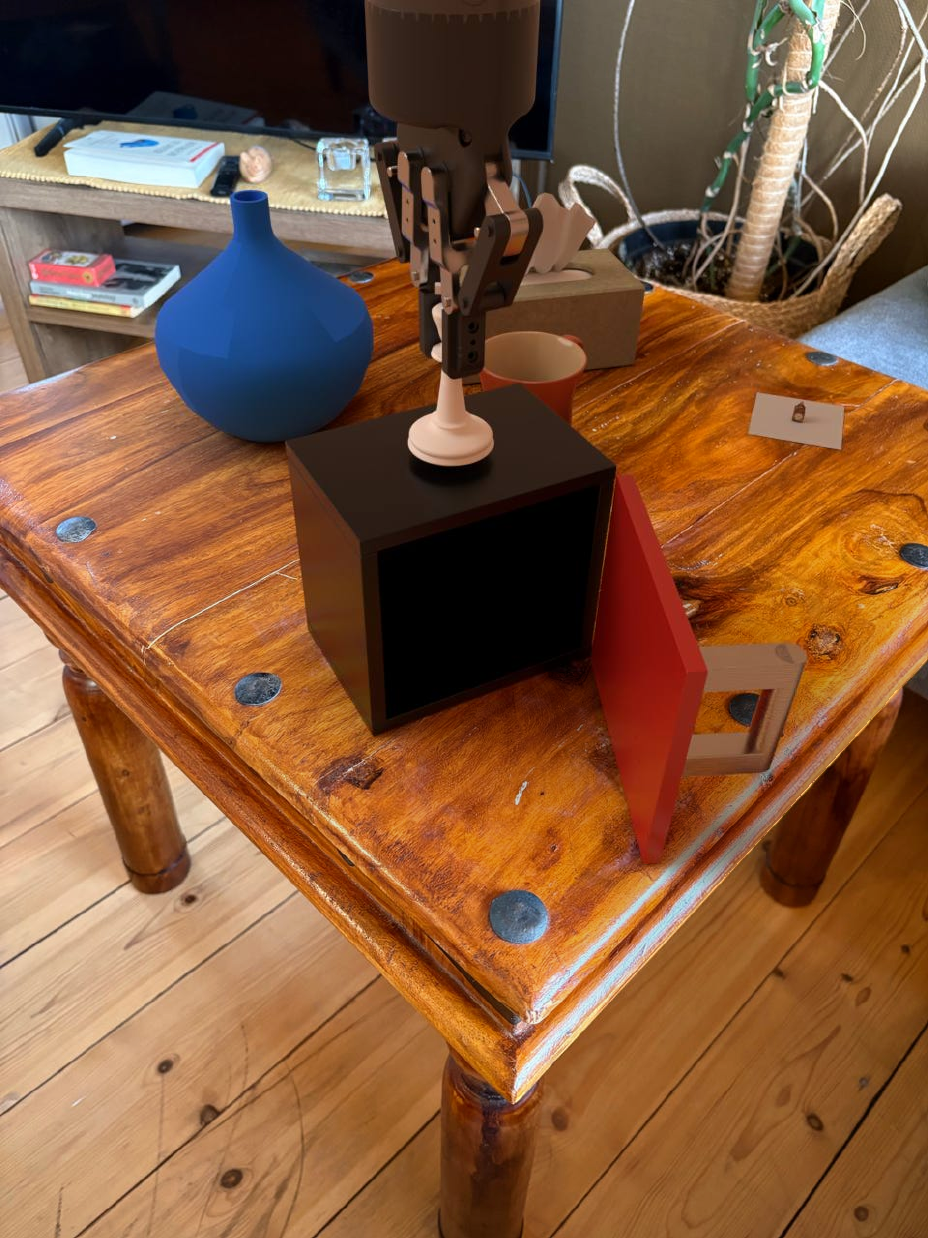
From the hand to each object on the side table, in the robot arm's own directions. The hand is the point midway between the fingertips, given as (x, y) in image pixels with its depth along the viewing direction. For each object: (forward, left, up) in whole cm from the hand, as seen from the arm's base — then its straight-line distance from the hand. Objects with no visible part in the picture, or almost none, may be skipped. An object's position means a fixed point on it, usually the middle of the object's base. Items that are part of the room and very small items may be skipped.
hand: (451, 361), depth 53 cm
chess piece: (0, 0, -5) cm, 5 cm away
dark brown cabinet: (0, 0, -21) cm, 21 cm away
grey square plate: (-42, -12, -21) cm, 48 cm away
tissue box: (-27, -34, -21) cm, 48 cm away
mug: (-17, -17, -21) cm, 32 cm away
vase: (0, -34, -21) cm, 40 cm away
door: (-7, +15, -21) cm, 26 cm away
